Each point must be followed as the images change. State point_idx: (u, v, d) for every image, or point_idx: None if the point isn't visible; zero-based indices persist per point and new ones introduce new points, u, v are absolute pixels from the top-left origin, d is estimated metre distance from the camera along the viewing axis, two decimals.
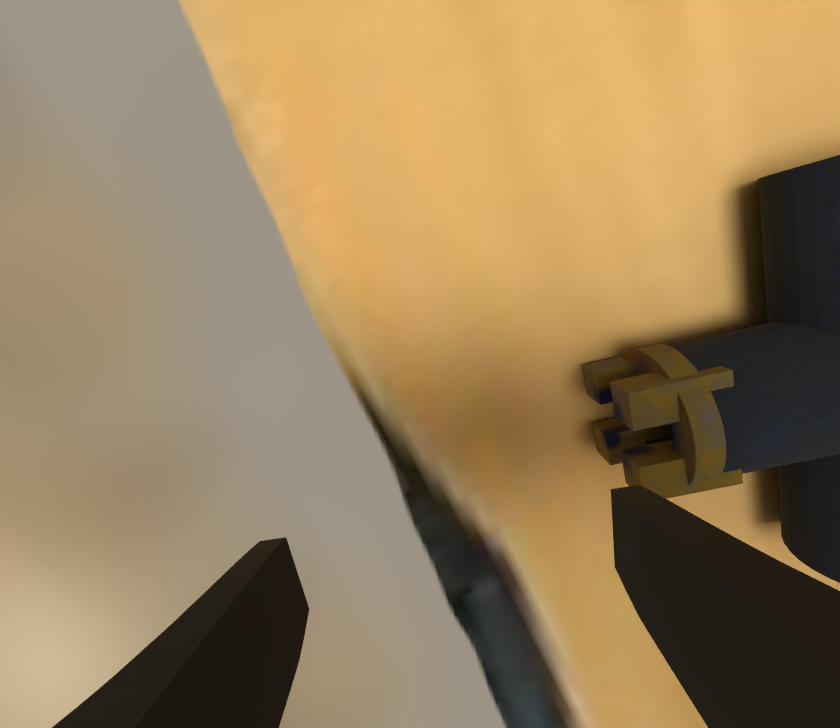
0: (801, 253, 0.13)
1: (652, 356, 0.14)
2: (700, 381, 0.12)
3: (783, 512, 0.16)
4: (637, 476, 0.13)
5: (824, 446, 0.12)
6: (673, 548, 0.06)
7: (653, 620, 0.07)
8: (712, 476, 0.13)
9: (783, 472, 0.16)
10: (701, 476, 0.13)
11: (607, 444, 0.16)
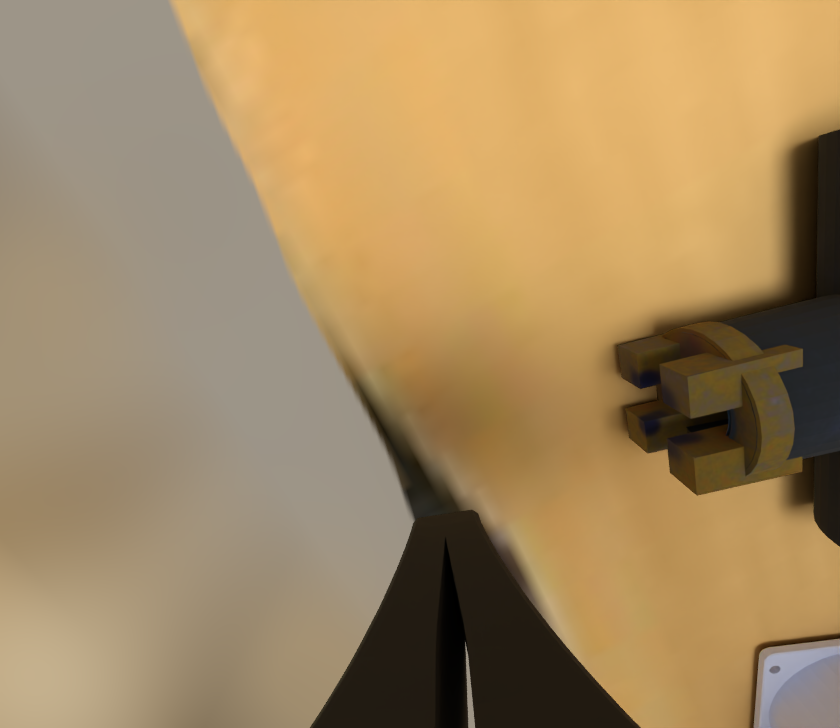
0: None
1: (706, 335, 0.12)
2: (766, 362, 0.11)
3: (821, 496, 0.16)
4: (689, 466, 0.12)
5: None
6: (454, 579, 0.06)
7: (466, 644, 0.07)
8: (773, 465, 0.12)
9: (825, 455, 0.15)
10: (762, 466, 0.12)
11: (645, 431, 0.15)
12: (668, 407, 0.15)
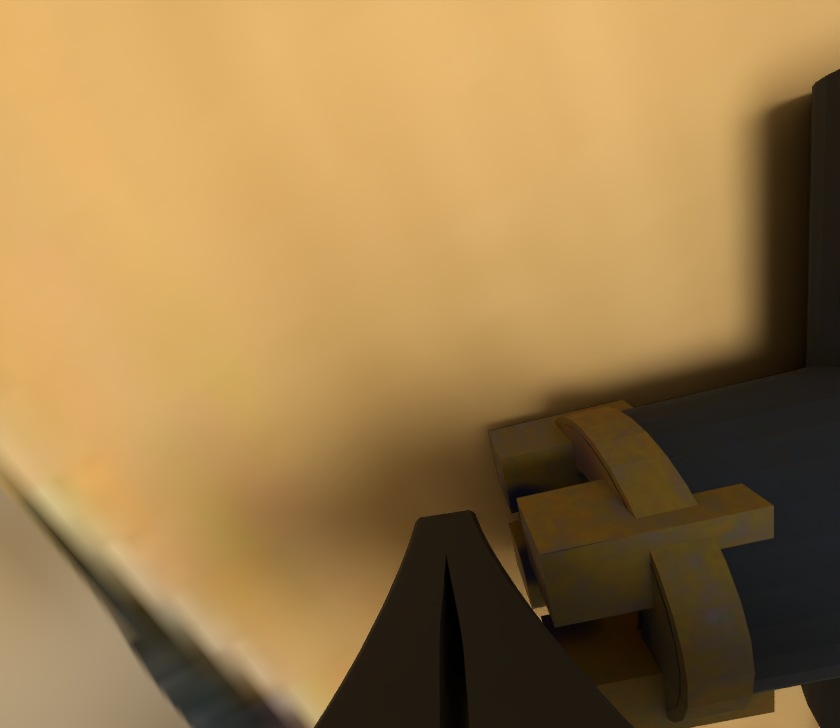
0: None
1: (600, 448, 0.07)
2: (700, 528, 0.05)
3: None
4: None
5: None
6: None
7: None
8: None
9: None
10: (695, 717, 0.06)
11: (526, 576, 0.09)
12: None
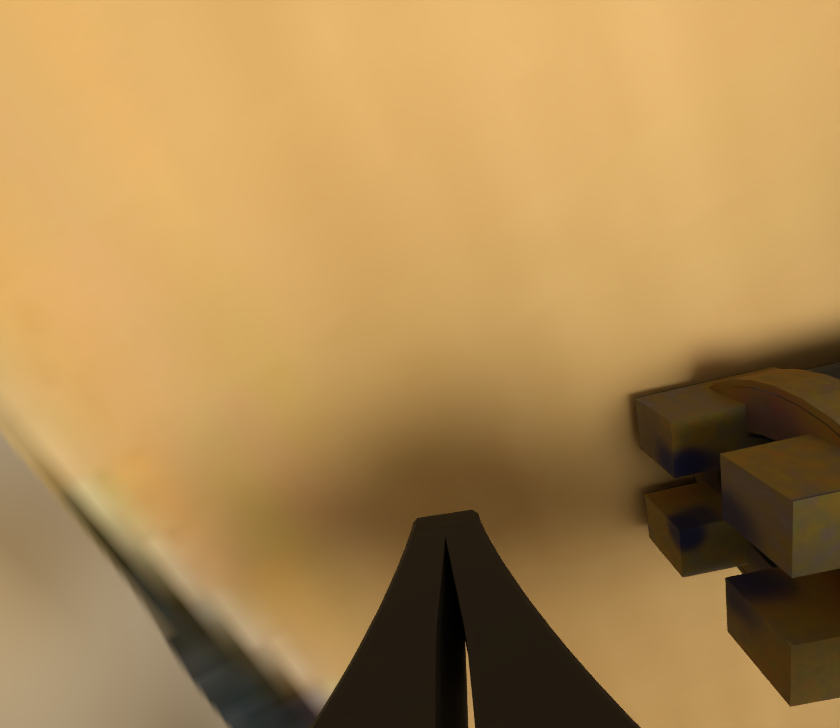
0: None
1: (811, 402, 0.07)
2: None
3: None
4: (776, 651, 0.06)
5: None
6: (453, 579, 0.06)
7: (466, 644, 0.07)
8: None
9: None
10: None
11: (680, 543, 0.09)
12: (716, 500, 0.09)
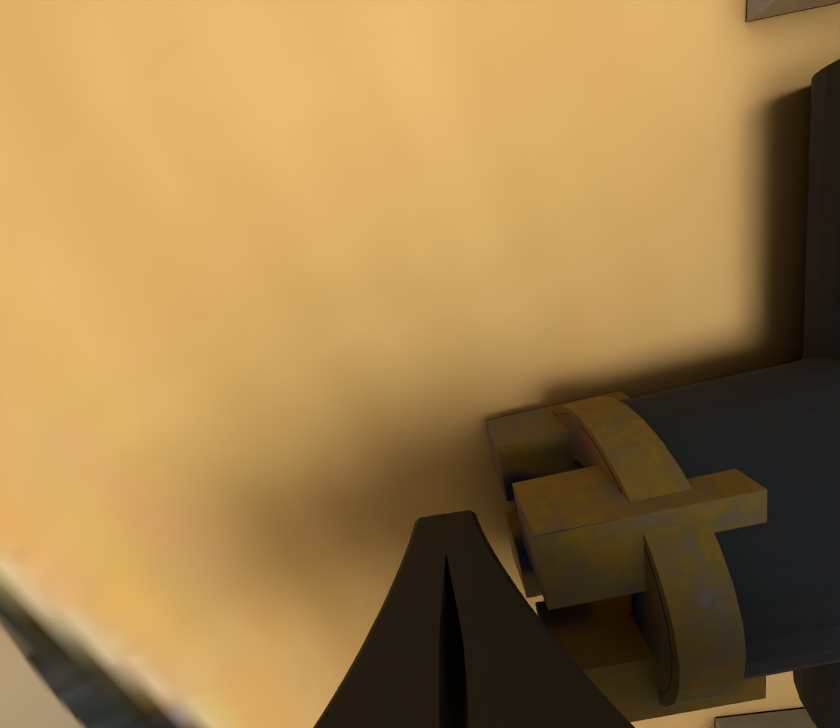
0: None
1: (596, 434, 0.07)
2: (694, 511, 0.05)
3: None
4: None
5: None
6: (451, 579, 0.06)
7: (464, 645, 0.07)
8: None
9: None
10: (686, 702, 0.06)
11: (521, 565, 0.09)
12: None
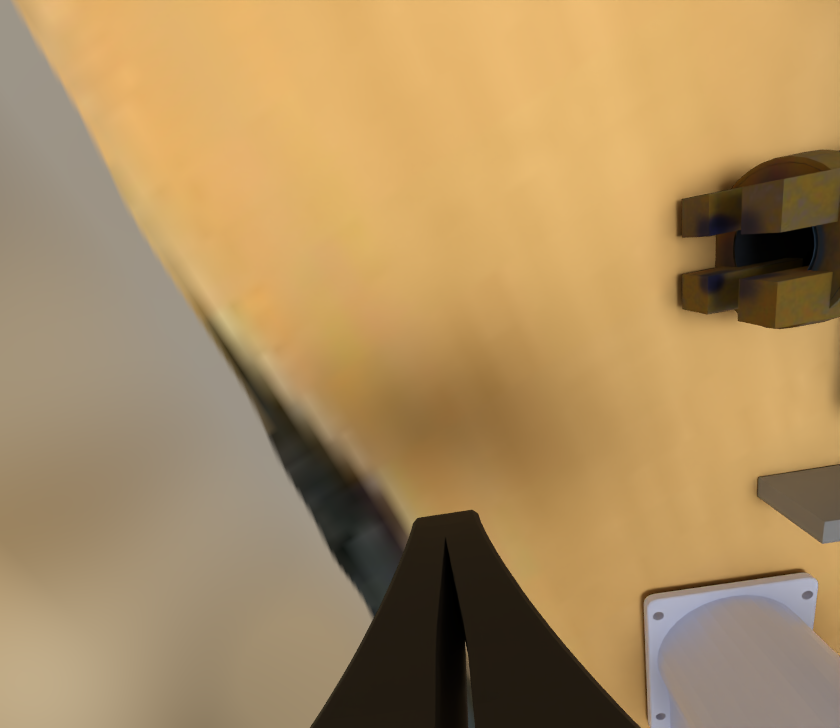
0: None
1: (796, 156, 0.11)
2: None
3: None
4: (769, 297, 0.11)
5: None
6: (454, 579, 0.06)
7: (466, 644, 0.07)
8: None
9: None
10: None
11: (708, 288, 0.14)
12: (731, 268, 0.14)
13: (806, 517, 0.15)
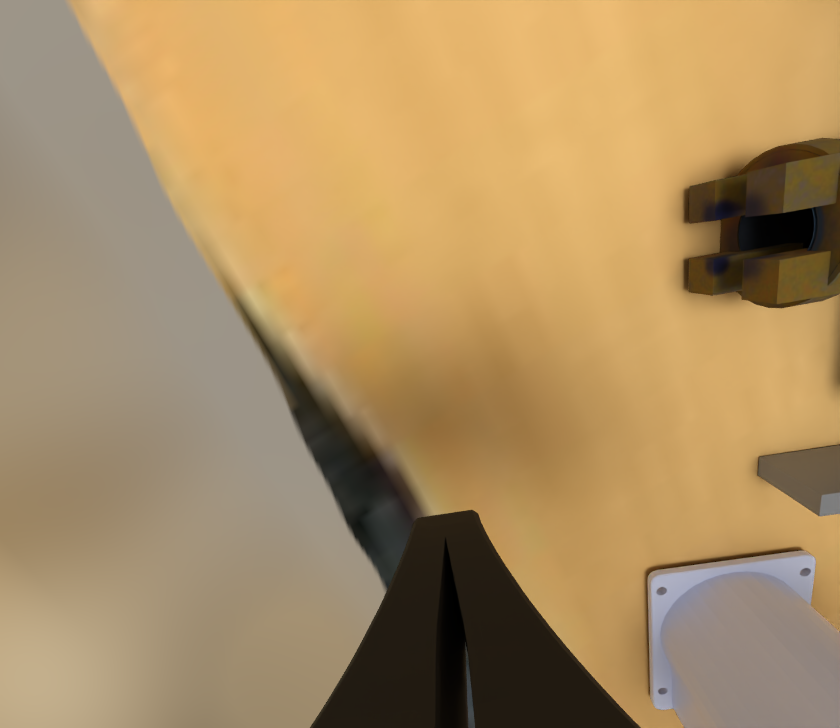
0: None
1: (798, 143, 0.12)
2: None
3: None
4: (771, 275, 0.12)
5: None
6: (454, 579, 0.06)
7: (466, 644, 0.07)
8: None
9: None
10: None
11: (713, 270, 0.14)
12: (735, 252, 0.15)
13: (804, 492, 0.16)
